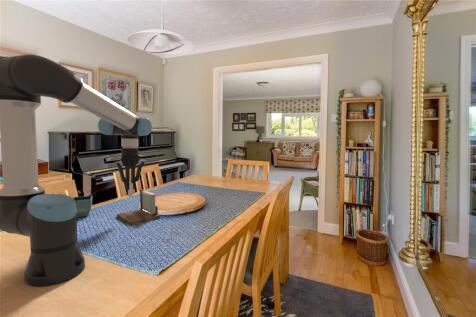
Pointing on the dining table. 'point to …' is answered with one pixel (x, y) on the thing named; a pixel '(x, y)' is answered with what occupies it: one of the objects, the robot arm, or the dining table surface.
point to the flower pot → (83, 205)
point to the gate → (149, 202)
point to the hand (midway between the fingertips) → (130, 196)
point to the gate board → (138, 214)
